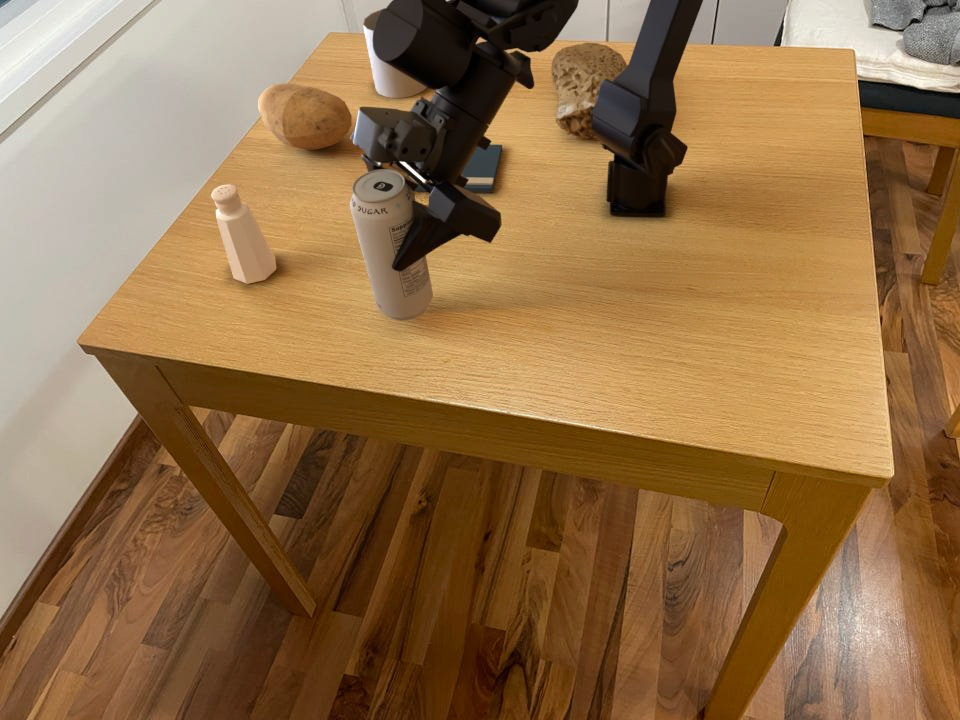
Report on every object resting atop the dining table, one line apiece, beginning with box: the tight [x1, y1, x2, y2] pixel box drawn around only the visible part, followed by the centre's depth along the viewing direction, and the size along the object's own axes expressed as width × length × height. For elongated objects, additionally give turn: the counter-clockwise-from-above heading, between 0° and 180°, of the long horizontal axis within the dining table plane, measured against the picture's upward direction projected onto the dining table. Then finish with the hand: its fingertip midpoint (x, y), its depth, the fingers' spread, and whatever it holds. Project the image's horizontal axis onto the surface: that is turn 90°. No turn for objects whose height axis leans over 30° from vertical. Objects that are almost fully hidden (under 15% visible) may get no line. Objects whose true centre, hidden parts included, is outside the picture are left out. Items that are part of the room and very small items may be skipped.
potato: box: [257, 82, 353, 151], centre depth 103 cm, size 10×14×8 cm
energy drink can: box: [349, 169, 434, 322], centre depth 73 cm, size 6×6×15 cm
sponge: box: [550, 42, 628, 139], centre depth 104 cm, size 13×8×20 cm
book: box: [408, 144, 503, 194], centre depth 98 cm, size 16×10×1 cm, turn 81°
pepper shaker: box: [210, 184, 277, 285], centre depth 84 cm, size 5×5×11 cm
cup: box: [362, 8, 428, 99], centre depth 112 cm, size 8×8×10 cm
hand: (380, 253), depth 73 cm, fingers closed on energy drink can, 6 cm apart
